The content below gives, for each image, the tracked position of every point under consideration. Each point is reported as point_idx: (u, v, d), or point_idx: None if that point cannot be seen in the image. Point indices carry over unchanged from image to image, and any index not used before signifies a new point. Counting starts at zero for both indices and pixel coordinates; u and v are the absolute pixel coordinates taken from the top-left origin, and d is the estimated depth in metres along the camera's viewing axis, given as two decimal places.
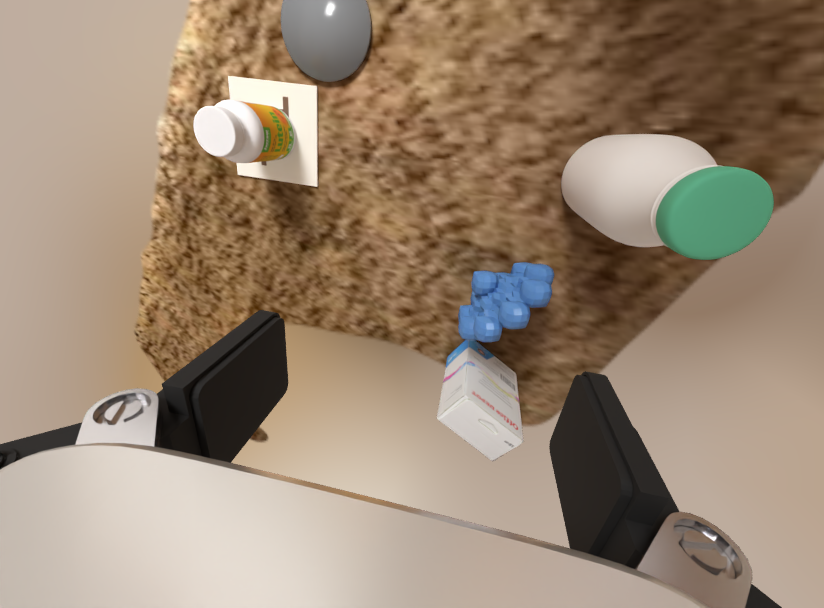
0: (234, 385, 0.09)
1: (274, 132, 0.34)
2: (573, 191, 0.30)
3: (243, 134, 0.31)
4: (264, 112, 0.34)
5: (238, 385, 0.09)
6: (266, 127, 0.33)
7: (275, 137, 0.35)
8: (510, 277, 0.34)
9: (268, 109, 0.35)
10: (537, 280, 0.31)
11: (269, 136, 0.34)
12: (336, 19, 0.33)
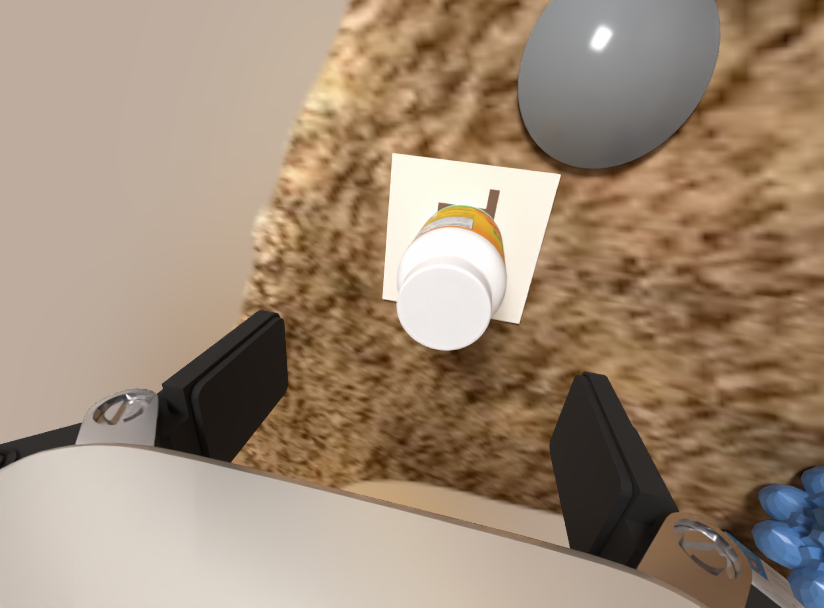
0: (234, 385, 0.09)
1: None
2: None
3: None
4: (495, 238, 0.18)
5: (238, 385, 0.09)
6: None
7: None
8: None
9: (488, 225, 0.19)
10: None
11: None
12: (640, 60, 0.17)
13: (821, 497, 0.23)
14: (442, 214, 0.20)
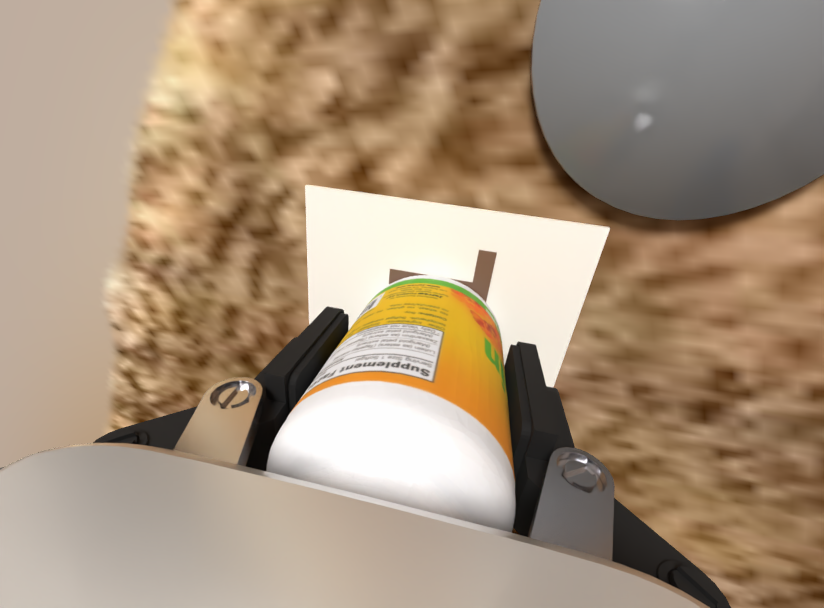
0: (316, 375, 0.10)
1: None
2: None
3: None
4: (488, 376, 0.08)
5: None
6: (512, 459, 0.08)
7: None
8: None
9: (474, 334, 0.09)
10: None
11: None
12: None
13: None
14: (386, 307, 0.10)
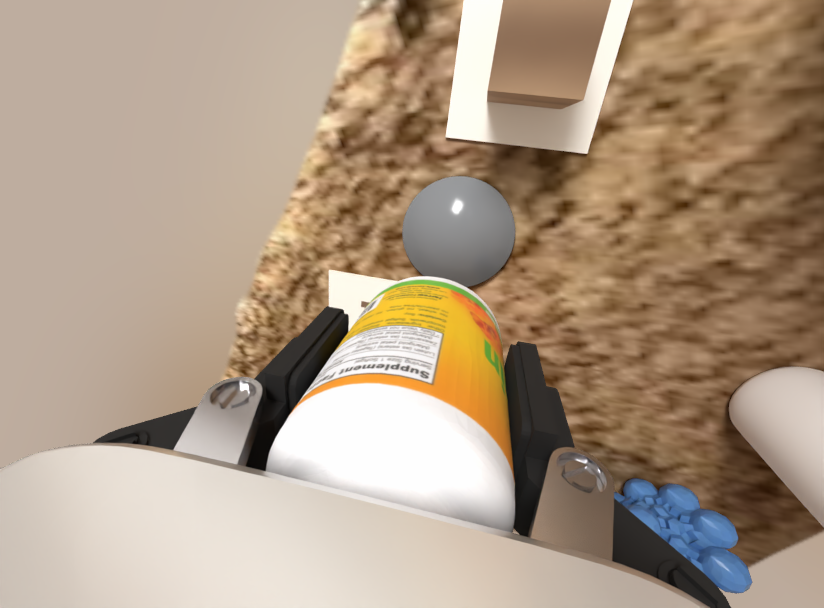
0: (316, 375, 0.10)
1: None
2: (779, 459, 0.25)
3: None
4: (487, 379, 0.08)
5: None
6: (512, 461, 0.08)
7: None
8: (676, 525, 0.29)
9: (474, 335, 0.09)
10: (730, 560, 0.26)
11: None
12: (472, 230, 0.28)
13: (628, 500, 0.34)
14: (386, 308, 0.10)
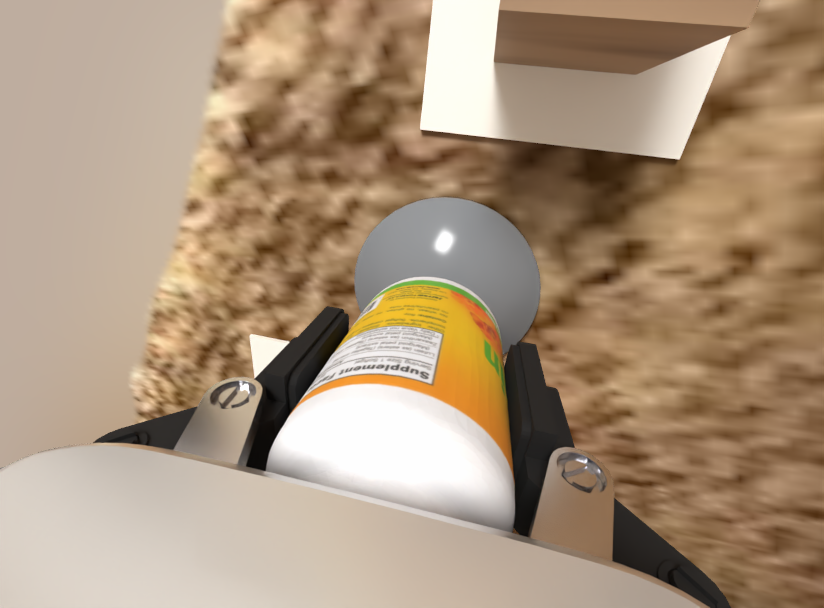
0: (316, 375, 0.10)
1: None
2: None
3: None
4: (487, 379, 0.08)
5: None
6: (512, 462, 0.08)
7: None
8: None
9: (474, 336, 0.09)
10: None
11: None
12: (468, 286, 0.17)
13: None
14: (385, 309, 0.10)
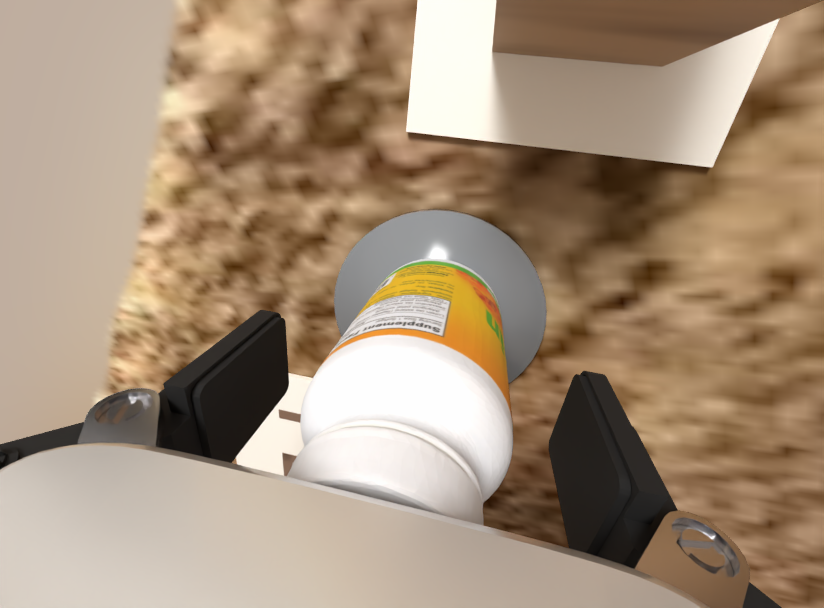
0: (235, 385, 0.09)
1: None
2: None
3: None
4: (489, 338, 0.10)
5: (239, 385, 0.09)
6: (510, 407, 0.09)
7: None
8: None
9: (477, 305, 0.11)
10: None
11: None
12: None
13: None
14: (399, 283, 0.11)
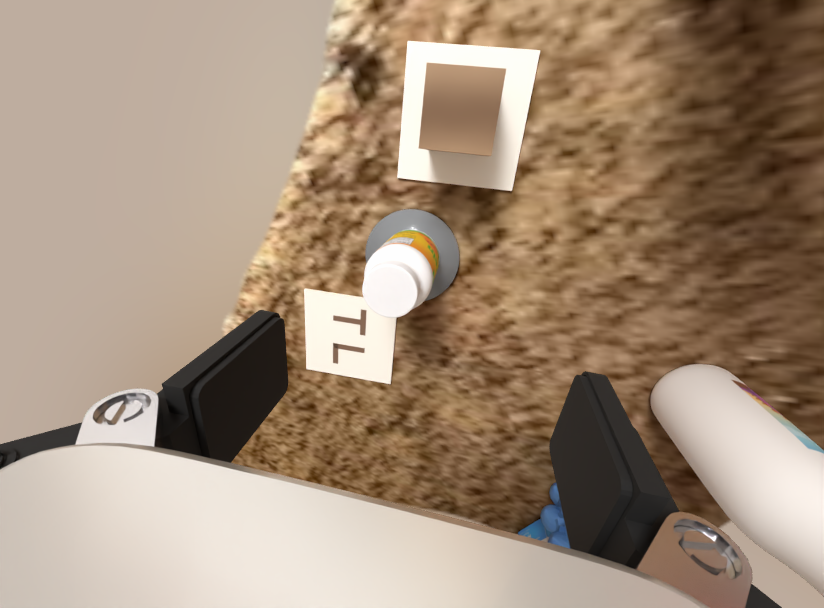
0: (234, 385, 0.09)
1: (435, 271, 0.29)
2: (680, 442, 0.30)
3: None
4: (427, 250, 0.28)
5: (238, 385, 0.09)
6: (433, 271, 0.27)
7: (434, 276, 0.29)
8: None
9: (424, 242, 0.29)
10: None
11: (433, 279, 0.28)
12: None
13: None
14: (395, 236, 0.30)
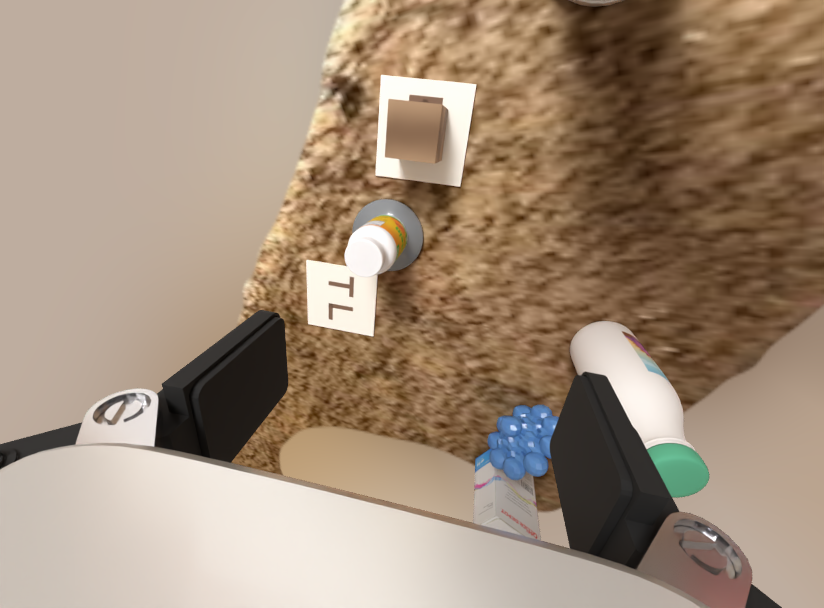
0: (234, 385, 0.09)
1: (400, 246, 0.39)
2: None
3: (384, 257, 0.36)
4: (394, 230, 0.38)
5: (238, 385, 0.09)
6: (397, 245, 0.38)
7: (400, 249, 0.39)
8: (531, 425, 0.44)
9: (393, 224, 0.40)
10: None
11: (398, 251, 0.38)
12: None
13: None
14: (372, 219, 0.40)
